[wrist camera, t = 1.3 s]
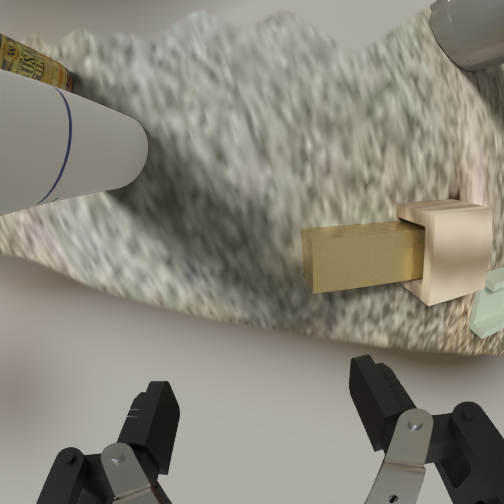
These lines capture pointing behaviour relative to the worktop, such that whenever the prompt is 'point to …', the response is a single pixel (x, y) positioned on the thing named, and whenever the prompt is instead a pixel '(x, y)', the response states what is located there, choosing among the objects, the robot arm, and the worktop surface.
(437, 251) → the beige u-shaped block
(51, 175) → the cylindrical container
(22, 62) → the sauce bottle
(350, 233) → the long yellowish block
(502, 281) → the cradle
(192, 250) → the worktop surface
